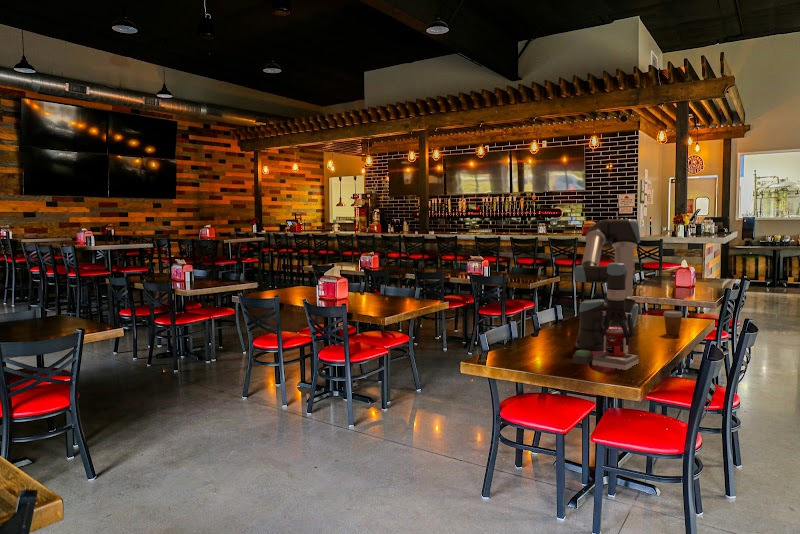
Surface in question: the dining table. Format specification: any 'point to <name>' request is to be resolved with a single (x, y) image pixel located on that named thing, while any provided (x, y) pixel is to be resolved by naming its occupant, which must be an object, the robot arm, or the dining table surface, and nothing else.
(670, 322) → the disposable coffee cup
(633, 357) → the pocket plate
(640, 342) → the dining table surface
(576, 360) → the button base
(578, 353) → the button
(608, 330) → the canned food
